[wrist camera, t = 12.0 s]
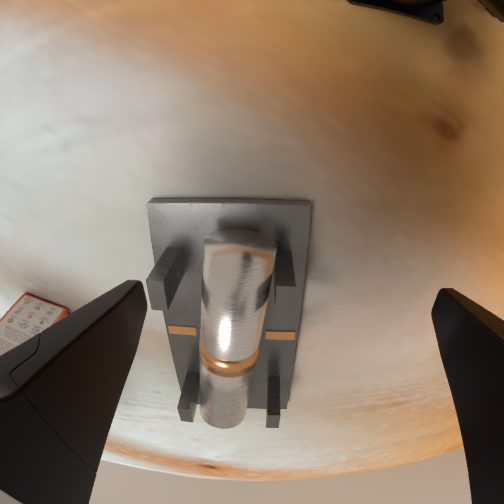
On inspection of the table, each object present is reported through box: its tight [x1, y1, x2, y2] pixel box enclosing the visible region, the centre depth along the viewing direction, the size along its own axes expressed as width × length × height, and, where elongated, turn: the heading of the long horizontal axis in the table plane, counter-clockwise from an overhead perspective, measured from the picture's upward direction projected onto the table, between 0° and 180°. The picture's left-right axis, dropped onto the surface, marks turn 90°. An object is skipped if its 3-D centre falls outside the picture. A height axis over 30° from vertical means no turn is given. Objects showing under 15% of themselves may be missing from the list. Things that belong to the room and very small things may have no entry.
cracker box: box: [0, 293, 68, 355], centre depth 18 cm, size 14×6×21 cm, turn 167°
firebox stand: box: [146, 198, 311, 428], centre depth 22 cm, size 10×20×5 cm, turn 179°
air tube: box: [199, 228, 277, 429], centre depth 21 cm, size 16×4×4 cm, turn 173°
